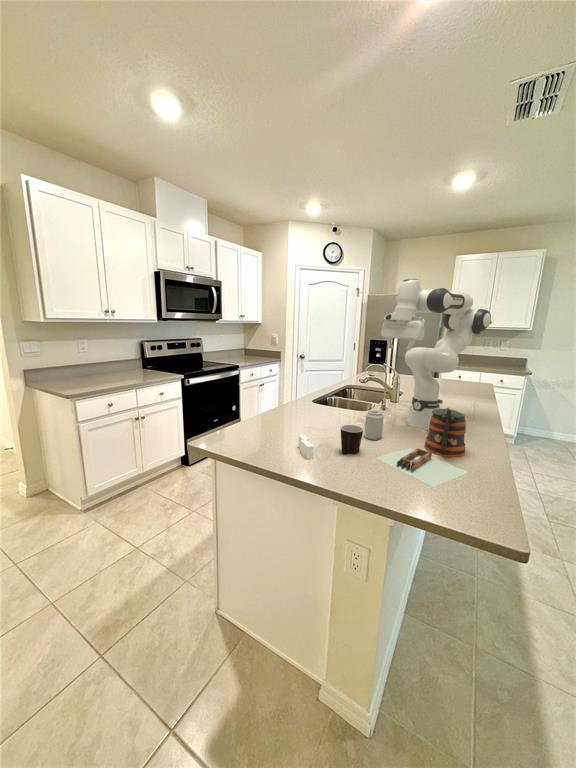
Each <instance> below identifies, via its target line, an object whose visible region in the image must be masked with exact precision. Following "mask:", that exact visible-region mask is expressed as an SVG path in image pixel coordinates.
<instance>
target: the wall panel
mask: <svg viewBox="0 0 576 768" xmlns="http://www.w3.org/2000/svg"><path fill="white" fill-rule="evenodd" d="M414 450H415V449H414V448H411V447H407V448H405V449H401V450H398V451H395V452H390V453H388V454H382V455H379V456H375V459H376V460H378V461H380V462H383V463H384V464H387V465H388V466H391V468H394V469H396V470H398V471H400V472H402V473H404V474H406V475H408V476H410V477H412V478H414V479H416V480H418V481H420V482H421V483H424V484H425V485H427V486H430V487H432V488H436V487H438V486H440V485H441V484H444V483H447V482H449V481H452V480H454V479H457V478H458V477H462V476H464V475H467V474H469V473H470V472H469V471H467V470H464V469H463V468H462V469H461V468H459V467H457V466H455V465H453V464H450V463H448V462H446V461H445V462H444V461H443V460H440V459H438V458H436V457H433V456H431V460H429V461H428V462H426V463H425V464H423V465H422V466H420V467H419V468H417V469H416V470H414V471H413V472H412V473H411V471H409V470H410V469H409V470H407V471H406V468H405V467H404V468H403V469H401V466H399V467H397V461H399V460H400V459H401V458H402V457H404V456H406V455H408V454H409V453H411V452H413V451H414Z"/></svg>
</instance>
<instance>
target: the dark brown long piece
mask: <svg viewBox="0 0 576 768" xmlns="http://www.w3.org/2000/svg"><path fill="white" fill-rule="evenodd" d="M432 455H433V453H431V452H429V451H427V450H424V449H421V448H416V449H414V451H413V452H411V453H409V454H408V455H406V456H404V457H402V458H401V459H400V460H399V461H397V467H399V466H401V469H403V468H404V467H405V468H406V471H407V470H409V469H410V461H412V466H411V473H412V472H413V471H414V470H416V469H417V468H419V467H420V466H422V465H423V464H425V463H426V462H428V461H429V460H431V457H433V456H432Z"/></svg>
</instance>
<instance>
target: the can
mask: <svg viewBox="0 0 576 768" xmlns="http://www.w3.org/2000/svg"><path fill="white" fill-rule="evenodd" d="M384 417H385V416H384V414H383V412H382V411H381V410H376V409H375V410H374V409H370V410H367V413H366V414H365V422H364V423H365V424H364V433H363V434H364V435H363V436H365V438H366V439H367V440H372V441H379V440H380V439H382V438H383V427H384V426H383V425H384Z"/></svg>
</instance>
